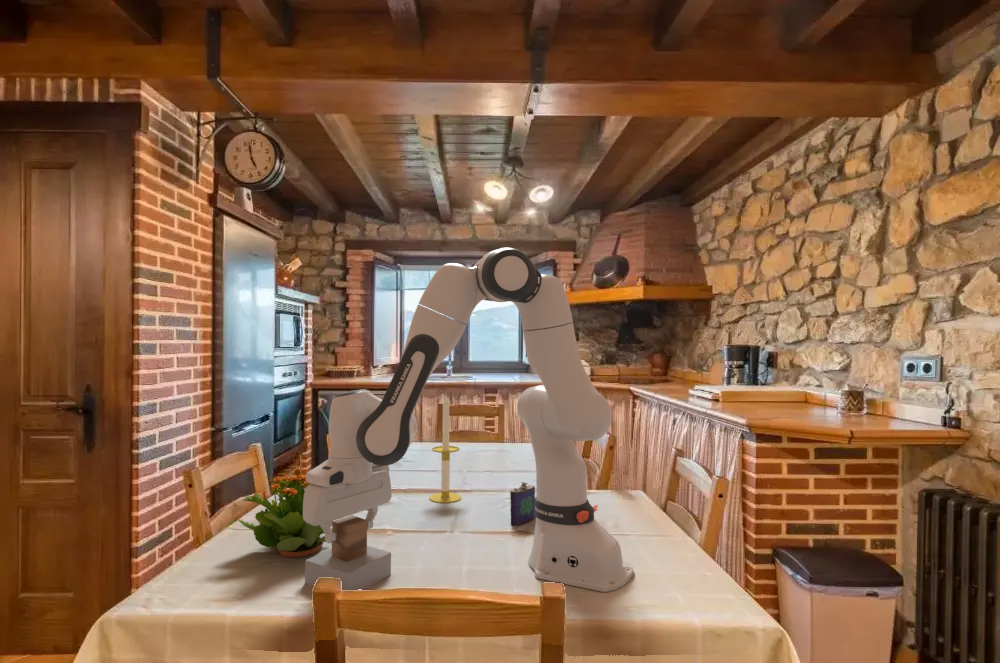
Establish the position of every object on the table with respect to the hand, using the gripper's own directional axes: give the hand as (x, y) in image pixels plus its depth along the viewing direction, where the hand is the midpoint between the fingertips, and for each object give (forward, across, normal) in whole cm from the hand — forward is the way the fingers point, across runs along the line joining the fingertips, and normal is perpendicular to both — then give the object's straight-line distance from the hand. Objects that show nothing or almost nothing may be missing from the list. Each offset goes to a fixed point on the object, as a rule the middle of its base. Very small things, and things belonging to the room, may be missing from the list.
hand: (349, 534), depth 111 cm
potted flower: (+9, -2, -20) cm, 22 cm away
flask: (+9, -50, +10) cm, 52 cm away
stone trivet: (+9, +1, +1) cm, 9 cm away
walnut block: (+4, 0, 0) cm, 4 cm away
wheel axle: (+9, -53, -21) cm, 58 cm away
